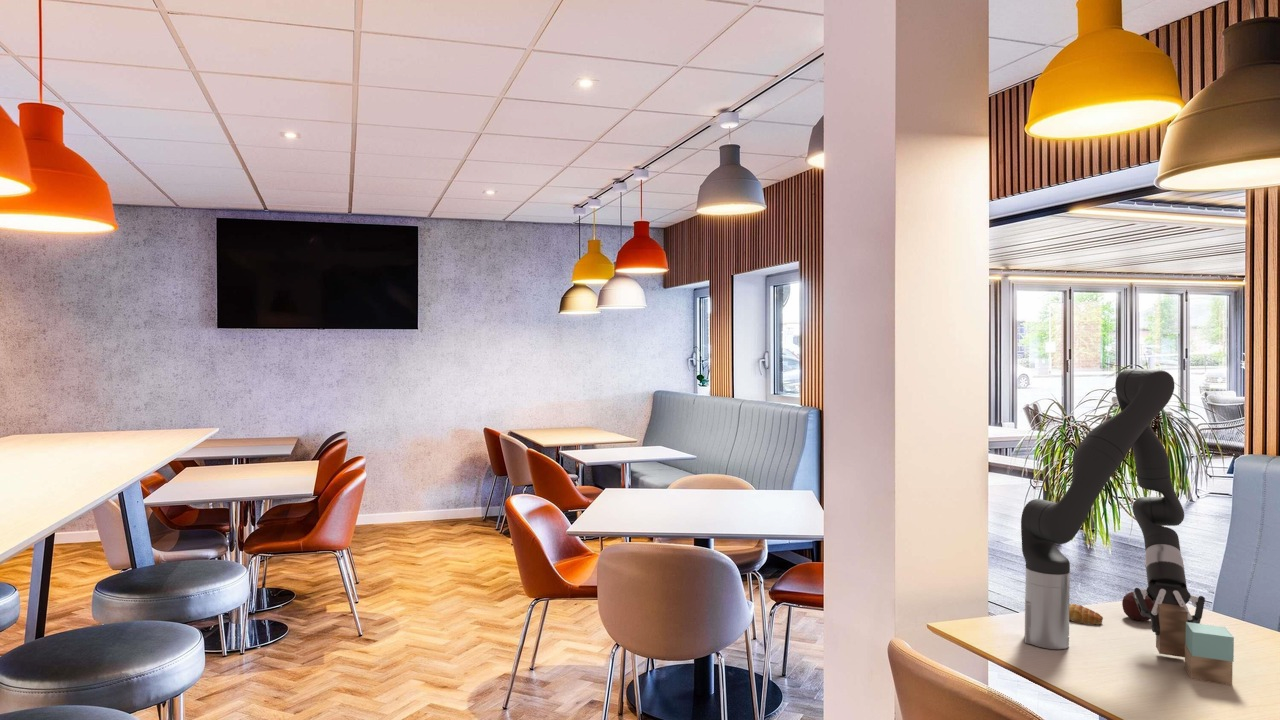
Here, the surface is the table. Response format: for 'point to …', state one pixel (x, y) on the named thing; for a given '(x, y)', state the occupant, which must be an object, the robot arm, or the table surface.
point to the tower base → (1208, 669)
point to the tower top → (1209, 641)
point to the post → (1172, 630)
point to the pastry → (1084, 615)
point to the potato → (1135, 607)
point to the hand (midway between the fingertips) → (1173, 635)
